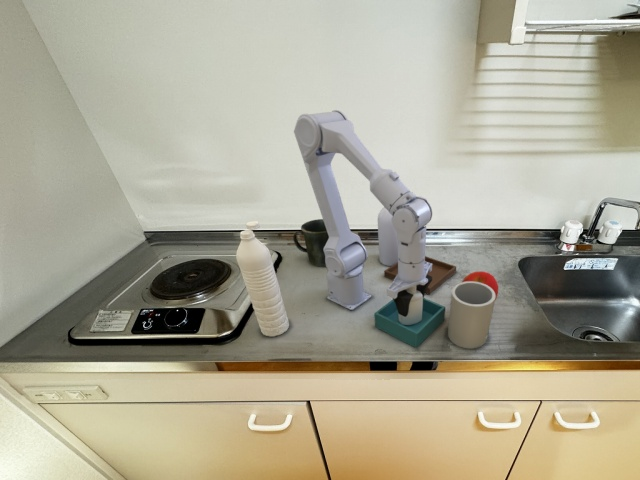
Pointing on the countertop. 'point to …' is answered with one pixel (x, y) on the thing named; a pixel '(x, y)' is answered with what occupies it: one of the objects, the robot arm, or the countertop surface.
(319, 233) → the mug
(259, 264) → the water bottle
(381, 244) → the soap bottle
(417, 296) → the eye dropper bottle
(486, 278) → the apple
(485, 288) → the cup
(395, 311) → the bin
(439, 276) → the tray
